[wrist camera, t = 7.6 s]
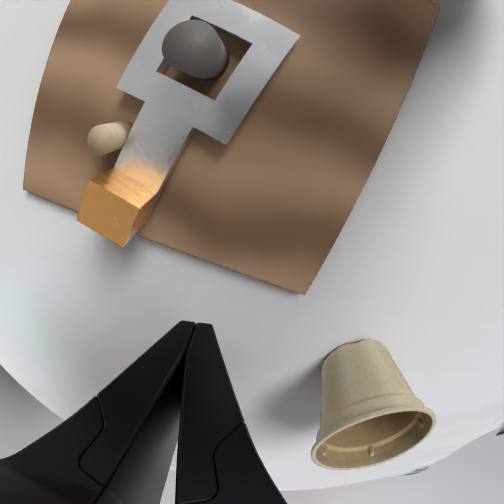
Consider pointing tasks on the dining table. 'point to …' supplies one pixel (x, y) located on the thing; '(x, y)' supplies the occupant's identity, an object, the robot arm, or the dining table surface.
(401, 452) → the flower pot
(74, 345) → the dining table surface
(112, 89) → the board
